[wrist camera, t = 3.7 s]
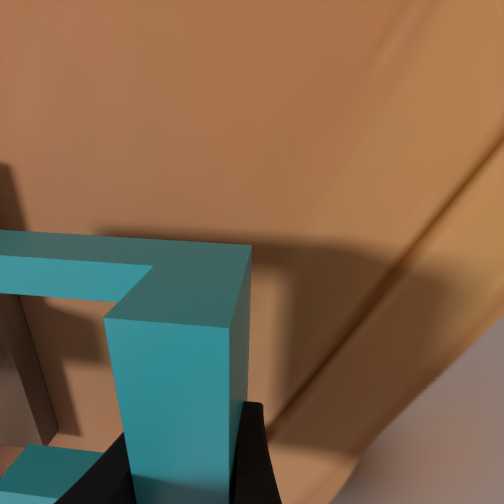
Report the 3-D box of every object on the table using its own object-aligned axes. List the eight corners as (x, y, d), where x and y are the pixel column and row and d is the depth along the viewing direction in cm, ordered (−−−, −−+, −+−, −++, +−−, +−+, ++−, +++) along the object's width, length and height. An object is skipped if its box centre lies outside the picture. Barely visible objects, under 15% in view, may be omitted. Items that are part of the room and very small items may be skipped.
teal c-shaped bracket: (34, 460, 15) (-60, 585, 11) (-48, 226, 10) (-264, 287, 6) (244, 486, 14) (228, 631, 10) (252, 245, 10) (228, 328, 5)
